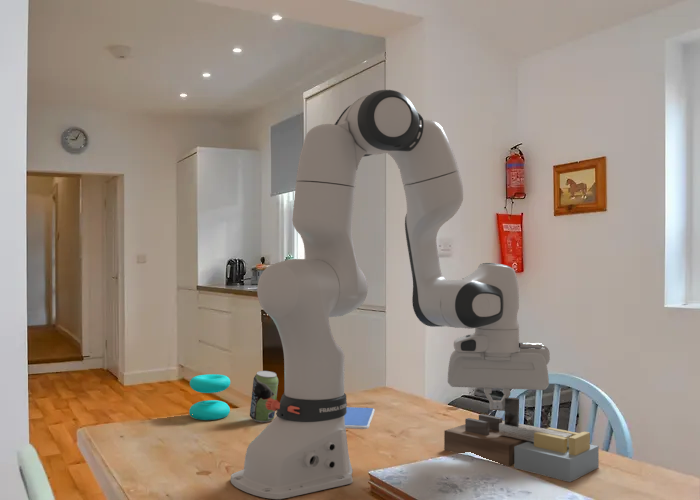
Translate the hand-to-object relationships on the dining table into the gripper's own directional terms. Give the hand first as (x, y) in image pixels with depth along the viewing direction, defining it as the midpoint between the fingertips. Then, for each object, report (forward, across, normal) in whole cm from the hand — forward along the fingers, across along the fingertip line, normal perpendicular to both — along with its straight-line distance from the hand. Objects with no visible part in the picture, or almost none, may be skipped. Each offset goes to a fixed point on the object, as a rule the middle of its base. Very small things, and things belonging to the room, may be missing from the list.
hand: (497, 410), depth 128 cm
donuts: (+9, +69, -18) cm, 72 cm away
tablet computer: (+9, +35, -23) cm, 43 cm away
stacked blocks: (+9, -10, +8) cm, 16 cm away
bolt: (+4, -7, +5) cm, 10 cm away
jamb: (+9, +1, -1) cm, 9 cm away
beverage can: (+9, +55, -16) cm, 58 cm away
